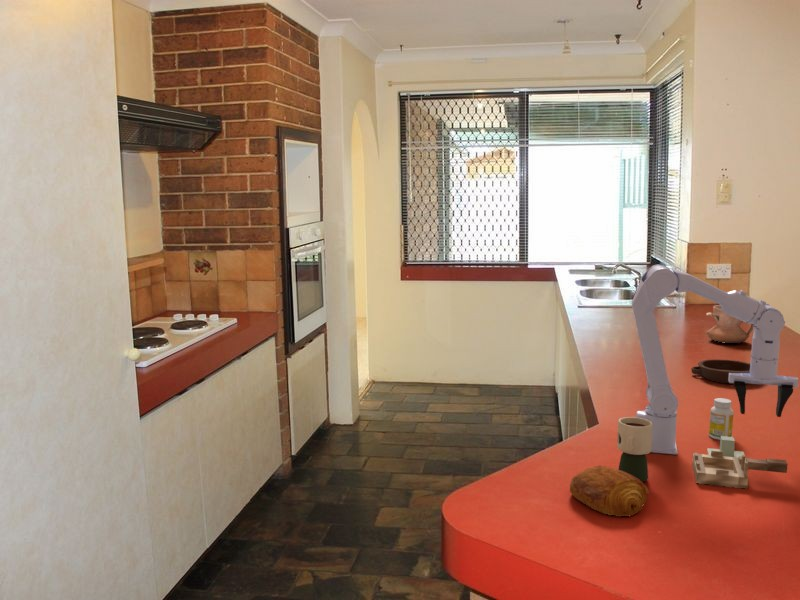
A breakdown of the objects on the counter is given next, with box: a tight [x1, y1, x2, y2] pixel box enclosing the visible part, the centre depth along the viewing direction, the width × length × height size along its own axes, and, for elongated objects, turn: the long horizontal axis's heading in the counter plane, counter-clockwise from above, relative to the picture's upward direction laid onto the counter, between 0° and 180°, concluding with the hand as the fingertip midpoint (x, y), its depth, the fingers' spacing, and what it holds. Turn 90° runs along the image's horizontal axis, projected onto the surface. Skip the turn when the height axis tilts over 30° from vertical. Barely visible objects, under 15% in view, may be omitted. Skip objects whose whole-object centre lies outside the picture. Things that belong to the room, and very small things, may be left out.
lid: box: [706, 436, 746, 461], centre depth 176 cm, size 8×11×5 cm
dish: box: [690, 358, 750, 385], centre depth 246 cm, size 18×22×5 cm
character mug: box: [616, 416, 652, 482], centre depth 163 cm, size 11×7×13 cm, turn 151°
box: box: [691, 450, 749, 490], centre depth 166 cm, size 10×12×6 cm
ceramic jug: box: [706, 304, 754, 344], centre depth 301 cm, size 18×14×14 cm
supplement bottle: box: [708, 397, 735, 441], centre depth 190 cm, size 5×5×10 cm
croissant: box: [569, 465, 650, 517], centre depth 152 cm, size 14×16×8 cm
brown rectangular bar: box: [746, 457, 788, 474], centre depth 160 cm, size 8×2×2 cm, turn 73°
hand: (760, 414), depth 177 cm, fingers open, 7 cm apart
